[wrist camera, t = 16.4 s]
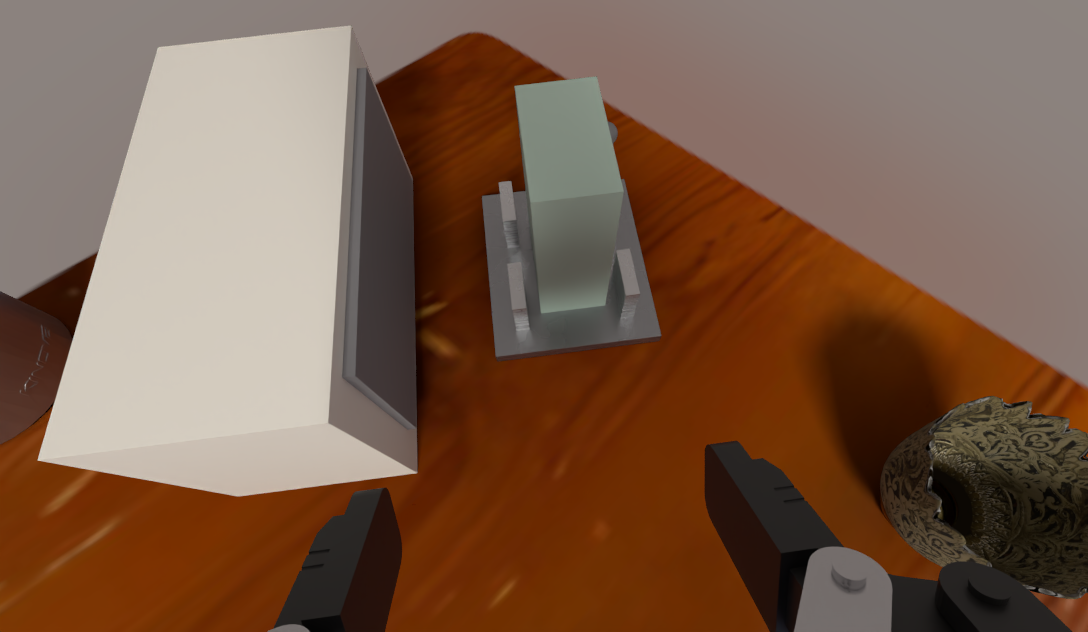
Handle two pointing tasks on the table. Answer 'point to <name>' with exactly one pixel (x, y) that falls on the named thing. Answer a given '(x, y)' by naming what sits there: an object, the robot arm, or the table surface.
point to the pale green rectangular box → (569, 190)
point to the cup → (995, 494)
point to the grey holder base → (568, 330)
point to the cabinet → (250, 280)
